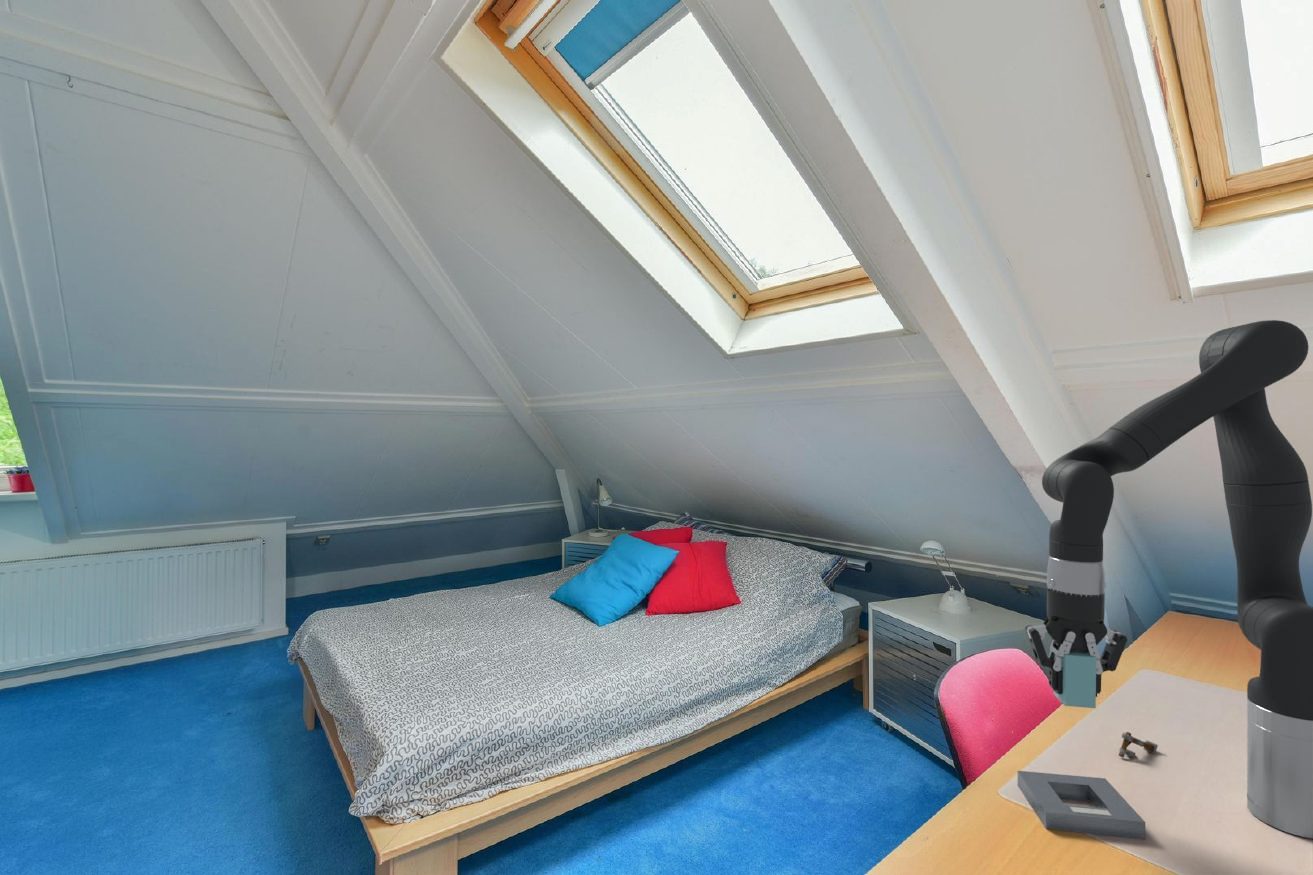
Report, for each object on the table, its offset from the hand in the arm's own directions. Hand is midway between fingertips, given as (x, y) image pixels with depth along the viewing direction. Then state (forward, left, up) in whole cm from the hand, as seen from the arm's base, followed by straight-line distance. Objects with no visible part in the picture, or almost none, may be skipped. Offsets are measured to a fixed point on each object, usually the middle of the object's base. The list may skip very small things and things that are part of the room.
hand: (1074, 692), depth 96 cm
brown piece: (-18, -17, -18) cm, 30 cm away
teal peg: (0, 0, -1) cm, 1 cm away
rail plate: (+1, +2, -18) cm, 18 cm away
